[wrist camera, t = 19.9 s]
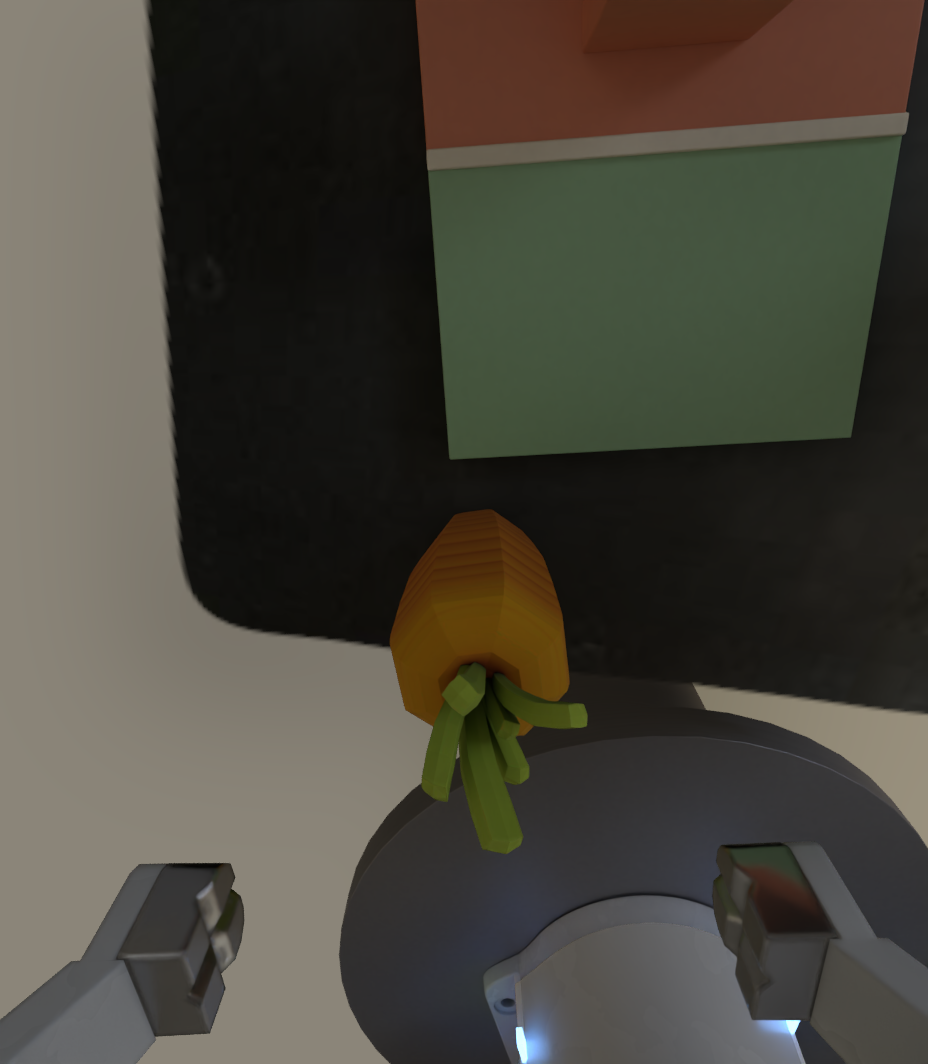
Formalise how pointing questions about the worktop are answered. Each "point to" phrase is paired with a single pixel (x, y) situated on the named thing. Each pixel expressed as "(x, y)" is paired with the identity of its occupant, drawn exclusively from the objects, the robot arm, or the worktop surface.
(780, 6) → the terracotta block
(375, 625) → the worktop surface
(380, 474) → the worktop surface
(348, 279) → the worktop surface
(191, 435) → the worktop surface
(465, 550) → the carrot
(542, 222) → the mat
